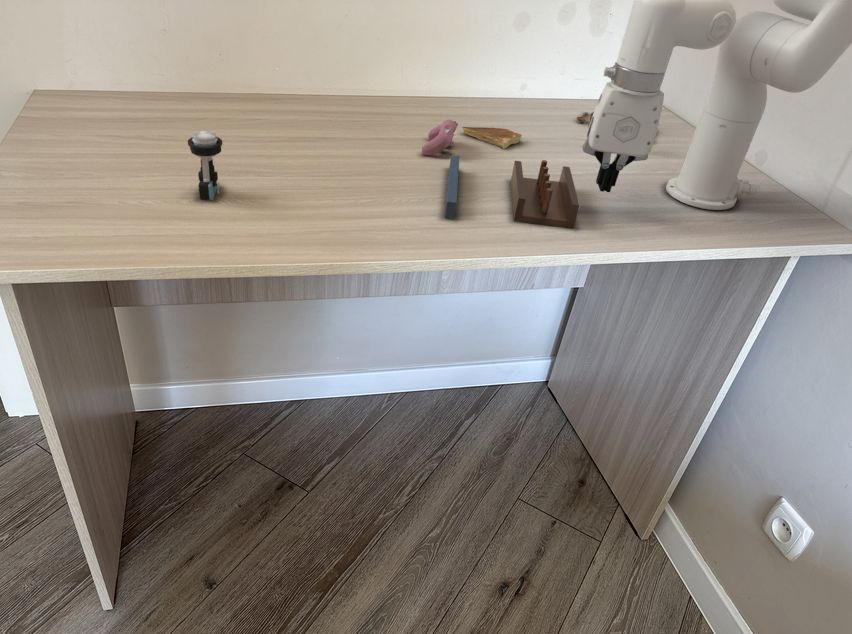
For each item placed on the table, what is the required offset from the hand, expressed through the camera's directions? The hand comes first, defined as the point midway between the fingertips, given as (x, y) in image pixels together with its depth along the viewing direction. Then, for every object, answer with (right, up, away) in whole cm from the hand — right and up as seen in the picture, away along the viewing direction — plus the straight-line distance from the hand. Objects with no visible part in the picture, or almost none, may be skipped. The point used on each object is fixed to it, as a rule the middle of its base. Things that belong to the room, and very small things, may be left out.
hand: (603, 188), depth 118 cm
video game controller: (-27, +12, +20) cm, 36 cm away
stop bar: (-26, 0, +4) cm, 26 cm away
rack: (-10, -2, +3) cm, 11 cm away
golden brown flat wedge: (-15, +16, +26) cm, 34 cm away
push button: (-67, -2, -3) cm, 67 cm away
